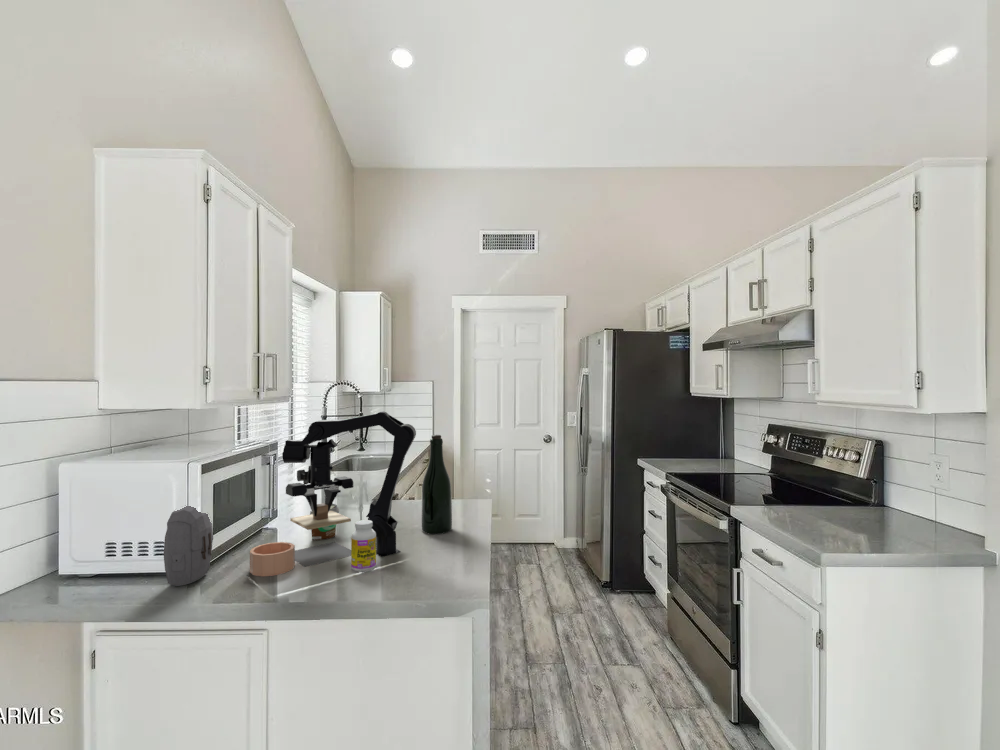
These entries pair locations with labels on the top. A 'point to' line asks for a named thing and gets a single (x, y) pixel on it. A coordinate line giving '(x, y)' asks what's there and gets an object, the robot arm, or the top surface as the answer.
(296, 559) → the mat
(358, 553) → the supplement bottle
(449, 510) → the dark green wine bottle
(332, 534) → the food container
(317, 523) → the lid
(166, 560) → the small grey backpack
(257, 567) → the bowl
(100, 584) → the top surface
